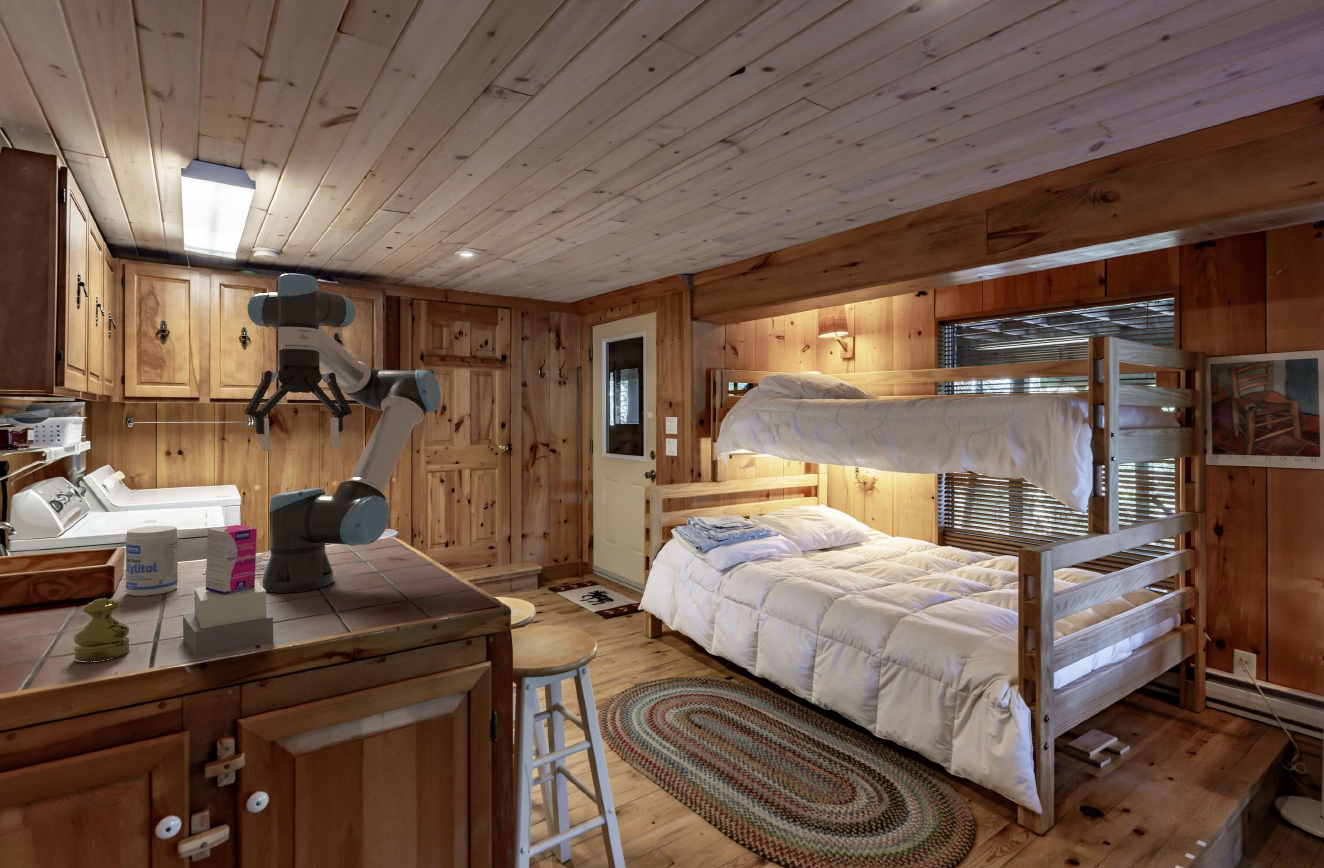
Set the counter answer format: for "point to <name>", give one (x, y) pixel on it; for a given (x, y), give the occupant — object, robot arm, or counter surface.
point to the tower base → (225, 635)
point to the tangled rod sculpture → (258, 561)
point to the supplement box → (230, 559)
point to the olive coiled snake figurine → (101, 633)
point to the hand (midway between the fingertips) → (301, 448)
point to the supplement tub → (151, 560)
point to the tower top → (229, 606)
